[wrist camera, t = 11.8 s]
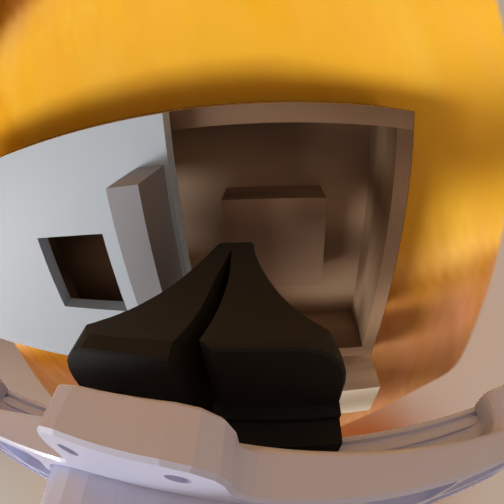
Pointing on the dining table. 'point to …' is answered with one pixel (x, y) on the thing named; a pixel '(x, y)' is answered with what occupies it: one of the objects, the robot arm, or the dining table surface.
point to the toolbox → (285, 205)
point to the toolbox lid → (88, 225)
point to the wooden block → (359, 384)
